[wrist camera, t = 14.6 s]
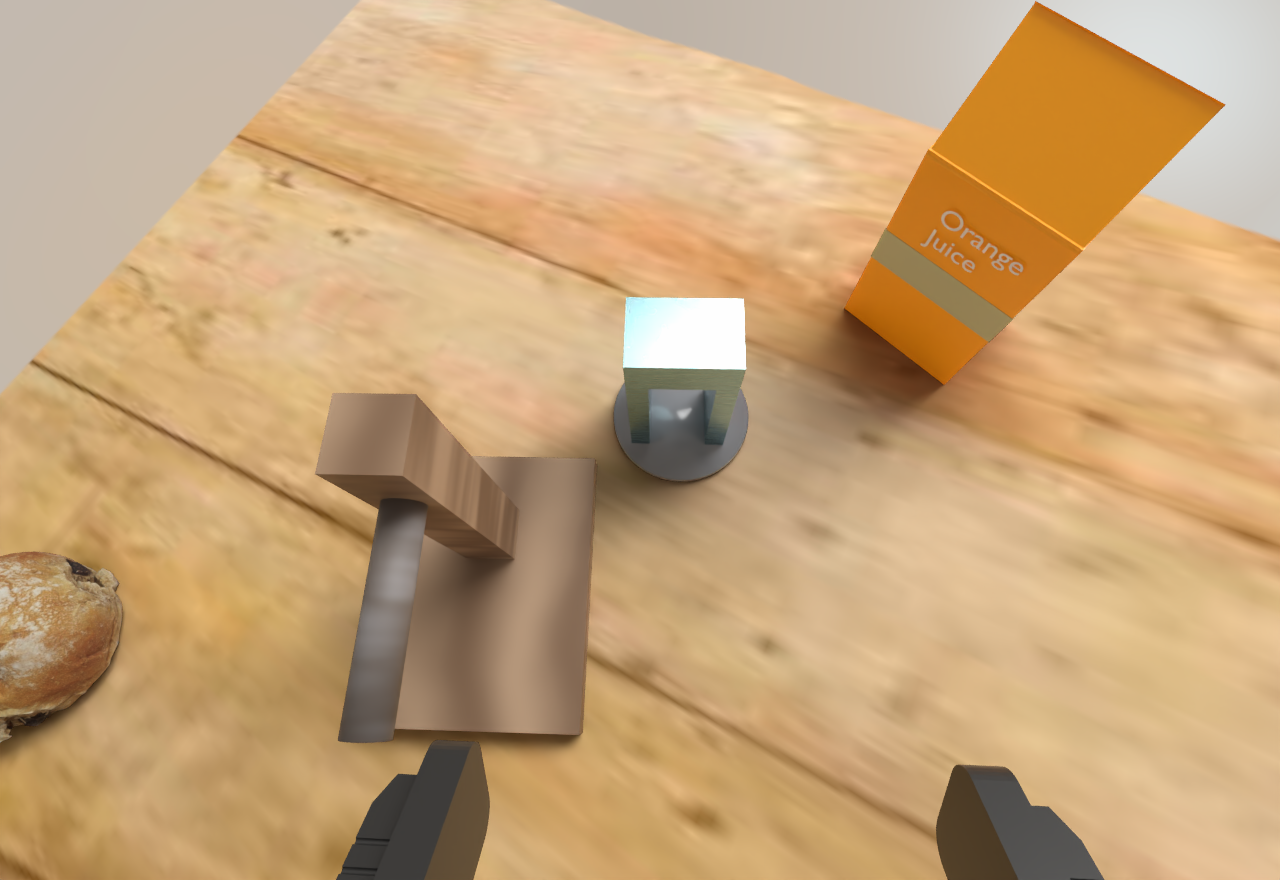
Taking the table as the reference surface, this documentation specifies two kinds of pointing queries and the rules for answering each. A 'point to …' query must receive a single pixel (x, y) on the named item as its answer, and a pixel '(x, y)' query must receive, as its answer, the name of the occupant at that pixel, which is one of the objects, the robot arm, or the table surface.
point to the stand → (462, 577)
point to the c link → (684, 357)
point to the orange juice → (1020, 187)
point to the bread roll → (52, 634)
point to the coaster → (680, 436)
